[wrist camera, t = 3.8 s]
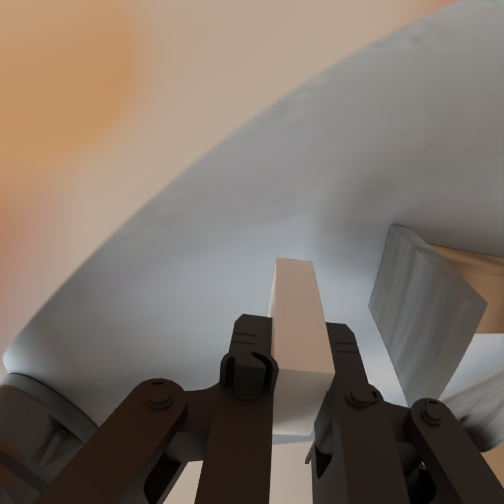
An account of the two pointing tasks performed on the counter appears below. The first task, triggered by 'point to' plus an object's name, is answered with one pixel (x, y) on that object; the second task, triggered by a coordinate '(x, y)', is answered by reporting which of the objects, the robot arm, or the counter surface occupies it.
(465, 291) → the sliding block
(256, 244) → the counter surface
